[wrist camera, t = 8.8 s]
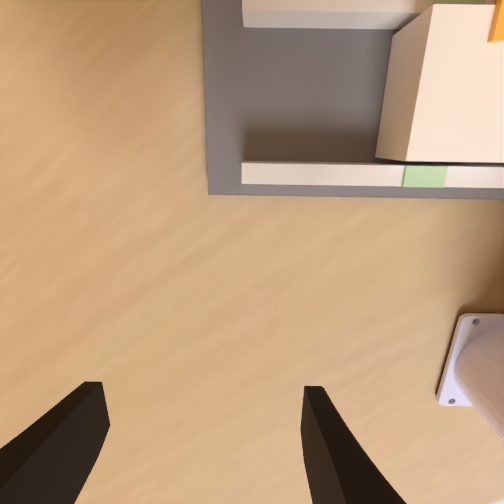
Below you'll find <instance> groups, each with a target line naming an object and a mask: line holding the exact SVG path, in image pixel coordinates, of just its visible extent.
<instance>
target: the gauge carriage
mask: <svg viewBox="0 0 504 504" xmlns="http://www.w3.org/2000/svg"><path fill="white" fill-rule="evenodd" d="M375 157H376V158H385V159H393V160H401V161H430V162H493V163H504V0H497V3H496V5H471V4H433V5H432V6H431V7H429V8H428V9H427V10H425V11H424V12H423V13H422V14H420V15H419V16H418V17H416V18H415V19H414V20H413V21H411V22H410V23H409V24H407V25H406V26H405V27H404V28H402V29H401V30H400V31H398V32H397V33H396V34H395V35H393V37H392V44H391V51H390V58H389V65H388V71H387V78H386V85H385V92H384V99H383V106H382V113H381V120H380V126H379V133H378V140H377V147H376V154H375Z"/></svg>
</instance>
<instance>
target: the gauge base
mask: <svg viewBox="0 0 504 504" xmlns="http://www.w3.org/2000/svg"><path fill="white" fill-rule="evenodd" d="M496 3H497V0H202V25H203V54H204V83H205V113H206V142H207V171H208V195H254V196H315V197H375V198H435V199H496V200H504V163H493V162H430V161H401V160H393V159H385V158H376V157H375V154H376V147H377V140H378V133H379V126H380V120H381V113H382V106H383V99H384V92H385V85H386V78H387V71H388V65H389V58H390V51H391V44H392V37H393V35H395V34H396V33H397V32H398V31H400V30H401V29H402V28H404V27H405V26H406V25H407V24H409V23H410V22H411V21H413V20H414V19H415V18H416V17H418V16H419V15H420V14H422V13H423V12H424V11H425V10H427V9H428V8H429V7H431V6H432V5H433V4H471V5H496Z"/></svg>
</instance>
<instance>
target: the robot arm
mask: <svg viewBox="0 0 504 504" xmlns="http://www.w3.org/2000/svg"><path fill="white" fill-rule="evenodd" d="M475 319H476V320H475ZM473 320H475V321H474V322H473ZM436 400H437V402H438V403H439V404H440V405H443V406H473V407H474V408H475V409H476V410H477V412H478V413H479V414H480V415H481V417H482V418H483V419H484V420H485V421H486V423H487V424H488V425H489V426H490V427H491V429H492V430H493V431H494V432H495V434H496V435H497V436H498V437H499V438H500V440H501V441H502V442H503V443H504V314H490V313H465V314H462V315H461V316H460V317H459V319H458V322H457V326H456V329H455V333H454V336H453V340H452V344H451V347H450V351H449V354H448V358H447V361H446V365H445V368H444V372H443V375H442V379H441V382H440V386H439V389H438V393H437V396H436ZM109 427H110V421H109V416H108V411H107V406H106V401H105V396H104V390H103V385H102V382H84V383H82V384H81V385H80V386H79V387H77V388H76V389H75V390H74V391H72V392H71V393H70V394H69V395H67V396H66V397H65V398H64V399H63V400H61V401H60V402H59V403H58V404H57V405H55V406H54V407H53V408H52V409H50V410H49V411H48V412H47V413H46V414H44V415H43V416H42V417H41V418H39V419H38V420H37V421H36V422H34V423H33V424H32V425H31V426H29V427H28V428H27V429H26V430H24V431H23V432H22V433H21V434H19V435H18V436H17V437H15V438H14V439H13V440H11V441H10V442H9V443H7V444H6V445H5V446H3V447H2V448H1V449H0V504H74V503H75V501H76V499H77V497H78V495H79V494H80V492H81V490H82V488H83V486H84V484H85V482H86V480H87V478H88V476H89V474H90V472H91V470H92V468H93V466H94V464H95V462H96V460H97V458H98V456H99V453H100V451H101V448H102V446H103V443H104V441H105V438H106V435H107V432H108V430H109ZM301 438H302V448H303V456H304V463H305V468H306V473H307V478H308V483H309V488H310V493H311V497H312V502H313V504H406V503H405V501H404V500H403V499H402V498H401V497H400V496H399V494H398V493H397V492H396V491H395V490H394V488H393V487H392V486H391V485H390V484H389V482H388V481H387V480H386V479H385V477H384V476H383V475H382V474H381V472H380V471H379V470H378V469H377V467H376V466H375V465H374V463H373V462H372V461H371V459H370V458H369V457H368V455H367V454H366V453H365V451H364V450H363V449H362V447H361V446H360V444H359V443H358V441H357V440H356V439H355V437H354V436H353V434H352V433H351V431H350V430H349V428H348V427H347V425H346V424H345V422H344V421H343V419H342V418H341V416H340V414H339V413H338V411H337V410H336V408H335V406H334V405H333V403H332V401H331V400H330V398H329V396H328V394H327V393H326V391H325V389H324V388H323V387H322V386H304V397H303V408H302V419H301Z"/></svg>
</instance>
